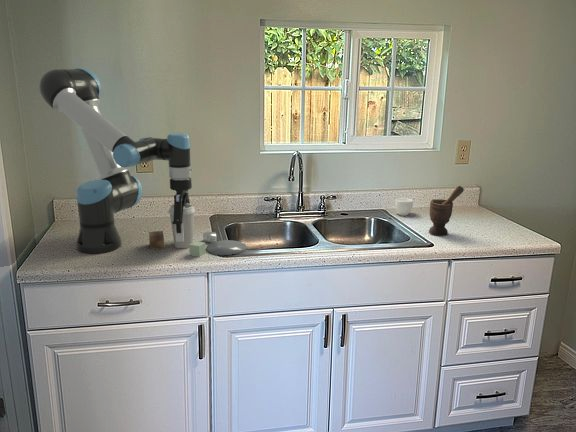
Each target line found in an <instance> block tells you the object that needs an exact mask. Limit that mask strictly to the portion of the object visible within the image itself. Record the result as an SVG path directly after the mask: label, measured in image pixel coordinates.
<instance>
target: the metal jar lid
mask: <svg viewBox="0 0 576 432" xmlns="http://www.w3.org/2000/svg"><path fill="white" fill-rule="evenodd" d="M202 237H203V238H202V240H203V241H202V242H204V243H205V244H207V245H209V244H210V243H213V242H216V241H218V239H217V233H216V232H215V231H206V232H203V233H202Z"/></svg>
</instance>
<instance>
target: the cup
mask: <svg viewBox="0 0 576 432" xmlns="http://www.w3.org/2000/svg"><path fill="white" fill-rule="evenodd" d="M413 203H414V200H413V199H412V198H409V197H408V198H407V197H397V198H395V199H394V208H395V211H396V212H397V214H398V215H399V216H403V217H404V216H408V215H409V214H410V213H411V211H412V209H413V205H414V204H413Z"/></svg>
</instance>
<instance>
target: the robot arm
mask: <svg viewBox="0 0 576 432" xmlns="http://www.w3.org/2000/svg"><path fill="white" fill-rule="evenodd" d="M38 85H39V92H40V93H39V94H40V95H41V98H43V100H44V102H45V103H46V104H47V105H48V106H49V107H50V108H52V109H53V110H54V111H55V112H57V113H62V114H64V115H65V116H67V117H68V119H70V120H72V122H73V123H75V124H76V125H77V126H79V127H80V128H81V131H82V134H83V136H84V139H85V141H86V143H87V146H88V149H89V150H90V154H91V156H92V158H93V161H94V163H95V166H96V168H97V170H98V173H99V176H98V177H99V178H98V179H94V180H90V181H85V182H83V183H82V184H80V185H79V186H77V189H76V201H77V207H78V208H77V210H78V219H79V231H78V236H77V239H76V249H77V251H79V252H81V253H84V254H104V253H108V252H111V251H115V250H117V249H119V248H120V247H121V246H122V239H121V236H120V233H119V232H118V229H117V227H116V225H115V214H116V213H118V212H121V211H124V210H128V209H130V208H132V207H134V206H136V205H137V204H139V202H140V201H141V199H142V196H143V187H142V183H141V181H140V180H139V179H138V178H136V176H134V175H131V173H130V171H129V169H127V168H130V167H135V166H138V165H141V164H145V163H149V162H152V161H157V160H159V161H160V160H161V161H168V174H169V175H168V177H169V178H170V179H169V188H170V190H171V191H176V192H175V194H174V195H173V204H174V220H173V222H172V224H175V236H176V242H184V233H183V223H182V219H183V208H184V207H185V203H188V204H191V201H190V197H189V196H190V195H189V190H191V189H192V187H193V186H192V178H191V176H192V172H193V168H191V143H190V136H189V135H188V134H187V133H181V132H179V133H178V132H176V133H175V132H173V133H169V134H168V135H167V137H166V138H161V137H160V138H159V137H150V136H149V137H141V138H140V139H139V140H137V141H134V140H133V139H132V138H130V136H128V135H127V134H125V132H123V131H122V130H120V129H119V128H118V127H117V126H116V125H114V124H113V123H112V122H111V121H109V120H108V119H107V118H105V117H104V116H103V115H102V113H101V111H100V107H99V104H100V103H101V99H100V96H101V90H102V86H101V82H100V80H99V78H98V76H96V74H95V73H93V72H92V71H91V70H88V69H84V68H83V69H82V68H66V69H64V68H63V69H59V68H57V69H56V68H54V69H51V70H48V71H47V72H45V73H44V74H43V75H42V76H41V78H40V79H39V83H38Z"/></svg>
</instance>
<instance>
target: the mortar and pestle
mask: <svg viewBox="0 0 576 432" xmlns="http://www.w3.org/2000/svg"><path fill="white" fill-rule="evenodd" d="M464 189H465V188H464V187H462V186H461V185H458V186H456V187H455V188H454V190H453V191H452V193H451V194H450V195H449V197H447V199H443V198H435V199H431V200H430V203H429V204H430V205H429V218H430V221H431V223H432V226H431V227H430V228H429V230H428V233H429V234H430V235H431V236H437V237H438V236H447V235H448V234H449V231H448V229H447V228H446V224H447V225H448V223H449V222H450V219H451V218H452V214H453V206H454V201H455V200H456V199H457V198H458V197H460V195H462V194H463V193H464Z"/></svg>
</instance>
